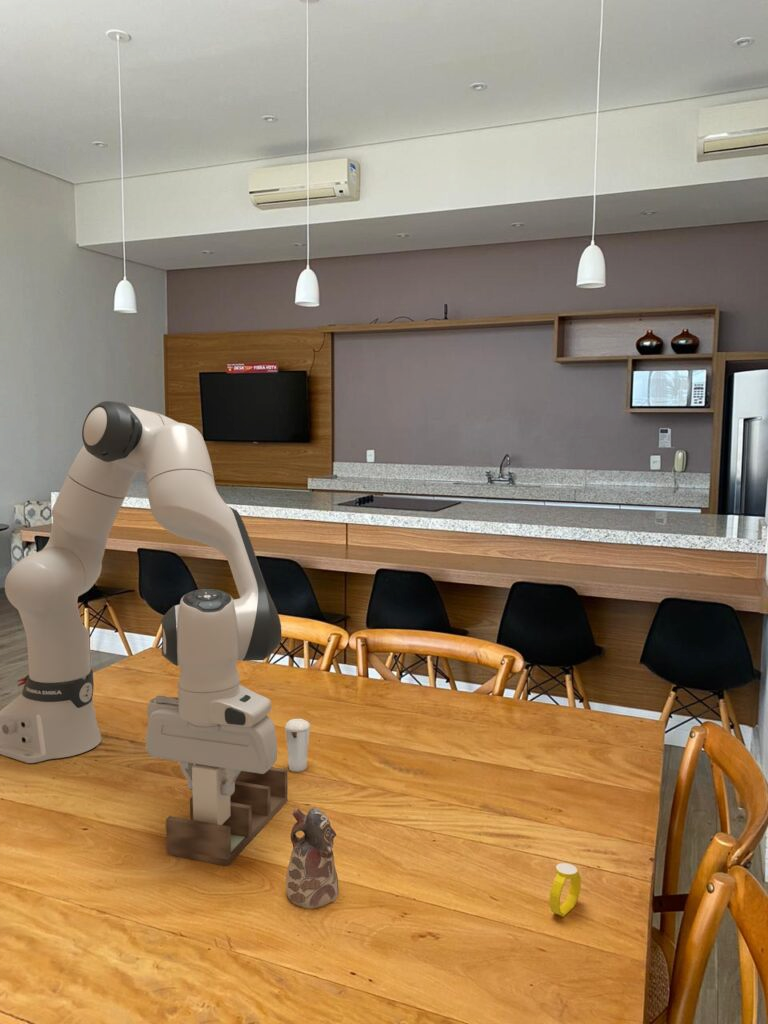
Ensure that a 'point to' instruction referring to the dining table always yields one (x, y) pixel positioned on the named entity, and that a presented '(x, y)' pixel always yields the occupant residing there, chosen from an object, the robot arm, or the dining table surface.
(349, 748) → the dining table surface
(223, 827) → the slot rack
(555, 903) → the watch
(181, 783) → the dining table surface
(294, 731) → the milkshake
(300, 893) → the figurine
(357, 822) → the dining table surface
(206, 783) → the peg
